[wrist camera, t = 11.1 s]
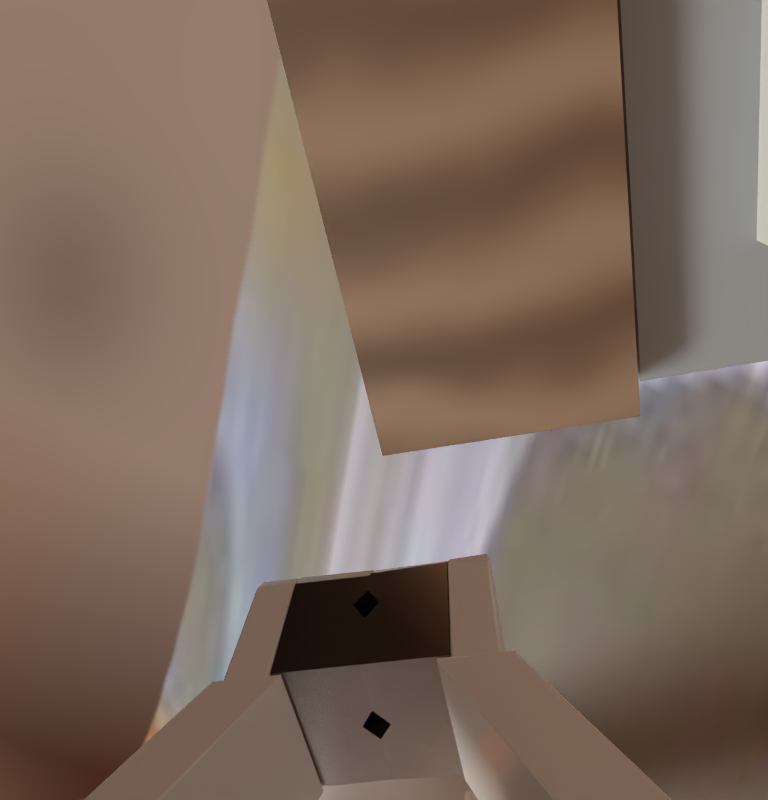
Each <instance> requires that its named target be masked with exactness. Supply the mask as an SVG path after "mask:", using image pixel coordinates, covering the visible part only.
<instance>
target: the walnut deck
mask: <svg viewBox="0 0 768 800" xmlns="http://www.w3.org/2000/svg"><path fill="white" fill-rule="evenodd" d="M267 2H268V5H269V9H270V13H271V17H272V21H273V25H274V29H275V33H276V37H277V41H278V45H279V49H280V53H281V57H282V61H283V65H284V69H285V72H286V76H287V80H288V84H289V88H290V92H291V96H292V100H293V104H294V108H295V112H296V116H297V120H298V124H299V128H300V132H301V136H302V140H303V143H304V147H305V151H306V155H307V159H308V163H309V167H310V171H311V175H312V179H313V183H314V187H315V191H316V195H317V199H318V203H319V207H320V211H321V214H322V218H323V222H324V226H325V230H326V234H327V238H328V242H329V246H330V250H331V254H332V258H333V262H334V266H335V270H336V274H337V278H338V281H339V285H340V289H341V293H342V297H343V301H344V305H345V309H346V313H347V317H348V321H349V325H350V329H351V333H352V337H353V341H354V345H355V349H356V352H357V356H358V360H359V364H360V368H361V372H362V376H363V380H364V384H365V388H366V392H367V396H368V400H369V404H370V408H371V412H372V416H373V419H374V423H375V427H376V431H377V435H378V439H379V443H380V447H381V451H382V455H383V456H384V455H391V454H397V453H404V452H410V451H417V450H423V449H430V448H436V447H443V446H449V445H456V444H462V443H469V442H476V441H482V440H489V439H495V438H502V437H508V436H515V435H521V434H528V433H534V432H541V431H547V430H554V429H560V428H567V427H573V426H580V425H586V424H593V423H599V422H606V421H612V420H619V419H625V418H632V417H638V416H640V402H639V384H638V366H637V349H636V331H635V313H634V295H633V277H632V259H631V241H630V224H629V206H628V188H627V170H626V152H625V134H624V116H623V98H622V81H621V63H620V45H619V27H618V9H617V0H267Z"/></svg>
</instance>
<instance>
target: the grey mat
mask: <svg viewBox="0 0 768 800" xmlns="http://www.w3.org/2000/svg"><path fill="white" fill-rule="evenodd" d="M617 9H618V27H619V45H620V63H621V81H622V98H623V116H624V134H625V152H626V170H627V188H628V206H629V224H630V241H631V259H632V277H633V295H634V313H635V331H636V349H637V366H638V378H639V379H640V381H644V380H650V379H656V378H662V377H668V376H675V375H681V374H687V373H693V372H699V371H705V370H712V369H718V368H724V367H730V366H736V365H743V364H749V363H755V362H761V361H767V360H768V245H765V244H763V243H761V242H759V241H757V198H758V152H759V106H760V60H761V14H762V0H617Z"/></svg>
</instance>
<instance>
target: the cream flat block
mask: <svg viewBox="0 0 768 800" xmlns="http://www.w3.org/2000/svg"><path fill="white" fill-rule="evenodd" d="M757 241H759V242H761V243H763V244H765V245H768V0H762V14H761V60H760V106H759V152H758V198H757Z"/></svg>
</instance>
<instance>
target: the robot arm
mask: <svg viewBox="0 0 768 800" xmlns="http://www.w3.org/2000/svg"><path fill="white" fill-rule="evenodd" d="M84 800H672V799H671V798H670V797H669V796H668V795H667V794H666V793H665V792H663V791H662V790H661V789H660V788H659V787H658V786H657V785H656V784H655V783H654V782H653V781H652V780H651V779H650V778H649V777H648V776H647V775H645V774H644V773H643V772H642V771H641V770H640V769H639V768H638V767H637V766H636V765H635V764H634V763H633V762H632V761H631V760H630V759H629V758H627V757H626V756H625V755H624V754H623V753H622V752H621V751H620V750H619V749H618V748H617V747H616V746H615V745H614V744H613V743H612V742H611V741H609V740H608V739H607V738H606V737H605V736H604V735H603V734H602V733H601V732H600V731H599V730H598V729H597V728H596V727H595V726H594V725H593V724H591V723H590V722H589V721H588V720H587V719H586V718H585V717H584V716H583V715H582V714H581V713H580V712H579V711H578V710H577V709H576V708H575V707H573V706H572V705H571V704H570V703H569V702H568V701H567V700H566V699H565V698H564V697H563V696H562V695H561V694H560V693H559V692H558V691H557V690H555V689H554V688H553V687H552V686H551V685H550V684H549V683H548V682H547V681H546V680H545V679H544V678H543V677H542V676H541V675H540V674H539V673H537V672H536V671H535V670H534V669H533V668H532V667H531V666H530V665H529V664H528V663H527V662H526V661H525V660H524V659H523V658H522V657H521V656H519V655H518V654H517V653H516V652H515V651H505V645H504V639H503V633H502V627H501V622H500V616H499V610H498V604H497V599H496V593H495V587H494V581H493V576H492V570H491V564H490V559H489V557H488V555H487V554H483V555H476V556H470V557H463V558H457V559H450V560H449V561H445V562H437V563H430V564H422V565H414V566H407V567H399V568H391V569H384V570H376V571H373V570H372V571H362V572H353V573H343V574H333V575H323V576H314V577H304V578H300V579H289V580H280V581H271V582H264V583H263V584H262V585H261V586H260V587H259V588H258V589H257V591H256V593H255V596H254V599H253V602H252V604H251V607H250V610H249V613H248V615H247V618H246V621H245V624H244V626H243V629H242V632H241V635H240V637H239V640H238V643H237V646H236V648H235V651H234V654H233V657H232V659H231V662H230V665H229V668H228V670H227V673H226V676H225V679H224V681H217V682H212V683H211V684H210V685H209V686H207V687H206V688H205V689H204V690H203V691H202V692H201V693H200V694H199V695H198V696H197V697H195V698H194V699H193V700H192V701H191V702H190V703H189V704H188V705H187V706H186V707H185V708H183V709H182V710H181V711H180V712H179V713H178V714H177V715H176V716H175V717H174V718H173V719H171V720H170V721H169V722H168V723H167V724H166V725H165V726H164V727H163V728H162V729H161V730H159V731H158V732H157V733H156V734H155V735H154V736H153V737H152V738H151V739H150V740H149V741H147V742H146V743H145V744H144V745H143V746H142V747H141V748H140V749H139V750H138V751H137V752H136V753H134V754H133V755H132V756H131V757H130V758H129V759H128V760H127V761H126V762H125V763H124V764H122V765H121V766H120V767H119V768H118V769H117V770H116V771H115V772H114V773H113V774H112V775H111V776H109V777H108V778H107V779H106V780H105V781H104V782H103V783H102V784H101V785H100V786H98V787H97V788H96V789H95V790H94V791H93V792H92V793H91V794H90V795H89V796H88V797H86V798H85V799H84Z"/></svg>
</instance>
